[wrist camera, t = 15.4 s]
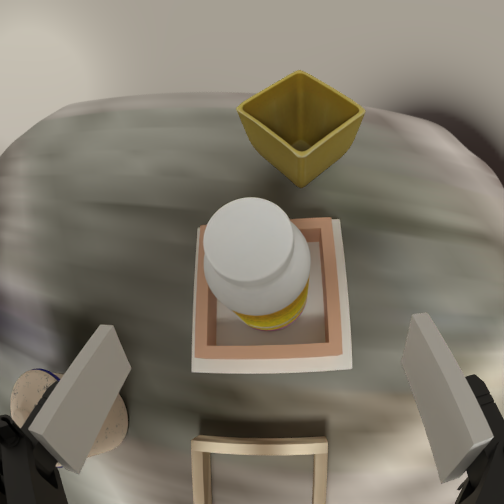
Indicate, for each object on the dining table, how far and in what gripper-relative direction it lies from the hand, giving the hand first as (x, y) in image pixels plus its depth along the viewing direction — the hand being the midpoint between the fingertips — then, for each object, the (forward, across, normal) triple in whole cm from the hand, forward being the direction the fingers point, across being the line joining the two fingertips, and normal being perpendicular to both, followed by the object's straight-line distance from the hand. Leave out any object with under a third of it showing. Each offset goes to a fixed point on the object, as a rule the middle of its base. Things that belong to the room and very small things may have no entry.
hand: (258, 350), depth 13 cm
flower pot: (+26, +4, +4) cm, 26 cm away
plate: (+15, 0, -7) cm, 16 cm away
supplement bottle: (+14, 0, -6) cm, 15 cm away
